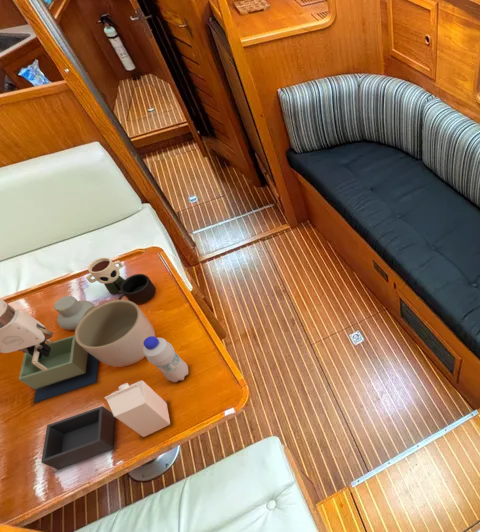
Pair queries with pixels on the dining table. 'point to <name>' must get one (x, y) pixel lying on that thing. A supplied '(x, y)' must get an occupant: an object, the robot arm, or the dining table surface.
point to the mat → (70, 382)
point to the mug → (138, 289)
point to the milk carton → (139, 408)
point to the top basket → (54, 363)
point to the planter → (114, 333)
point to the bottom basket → (78, 438)
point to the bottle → (165, 358)
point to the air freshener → (71, 311)
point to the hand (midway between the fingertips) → (44, 353)
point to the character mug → (106, 274)
